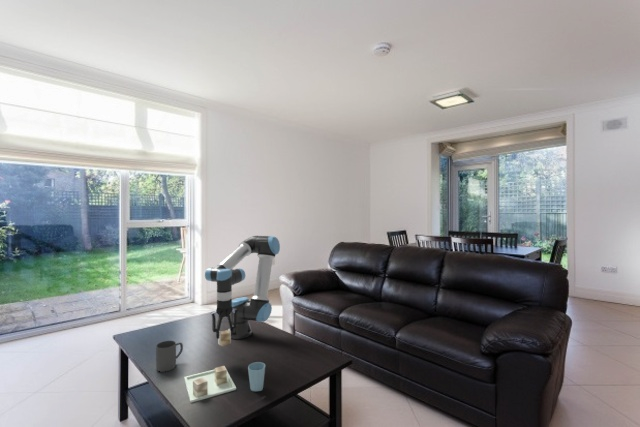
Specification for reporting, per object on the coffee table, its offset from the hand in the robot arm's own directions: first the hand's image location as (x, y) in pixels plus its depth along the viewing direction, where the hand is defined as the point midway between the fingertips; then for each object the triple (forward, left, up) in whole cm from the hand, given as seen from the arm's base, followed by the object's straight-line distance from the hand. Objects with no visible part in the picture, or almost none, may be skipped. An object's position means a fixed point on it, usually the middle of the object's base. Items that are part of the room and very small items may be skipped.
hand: (224, 342), depth 165 cm
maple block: (+16, +25, -10) cm, 31 cm away
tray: (+11, +18, -10) cm, 24 cm away
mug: (+25, -10, -11) cm, 29 cm away
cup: (-7, +32, -11) cm, 34 cm away
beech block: (+6, +19, -10) cm, 22 cm away
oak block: (0, 0, 0) cm, 0 cm away
